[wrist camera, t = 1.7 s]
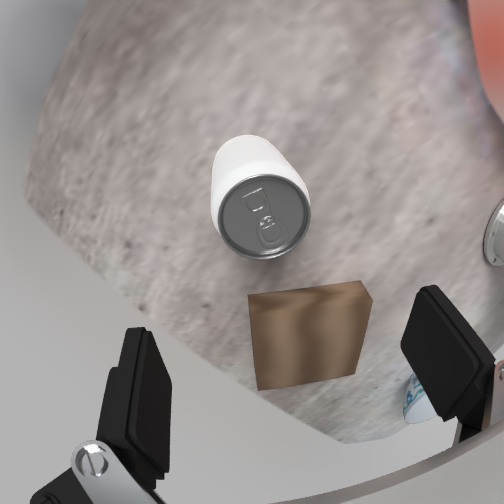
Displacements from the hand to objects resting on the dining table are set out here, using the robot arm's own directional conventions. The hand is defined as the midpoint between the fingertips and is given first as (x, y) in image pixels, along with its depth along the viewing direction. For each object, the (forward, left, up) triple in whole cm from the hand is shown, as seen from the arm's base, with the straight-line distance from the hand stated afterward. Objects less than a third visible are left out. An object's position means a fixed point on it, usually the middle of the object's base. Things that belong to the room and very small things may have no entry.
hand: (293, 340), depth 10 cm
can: (0, 0, -22) cm, 22 cm away
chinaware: (-32, +41, -22) cm, 57 cm away
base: (-6, +22, -22) cm, 32 cm away
